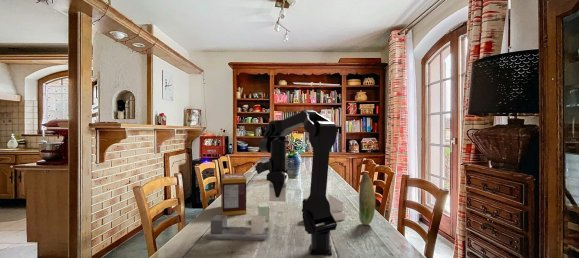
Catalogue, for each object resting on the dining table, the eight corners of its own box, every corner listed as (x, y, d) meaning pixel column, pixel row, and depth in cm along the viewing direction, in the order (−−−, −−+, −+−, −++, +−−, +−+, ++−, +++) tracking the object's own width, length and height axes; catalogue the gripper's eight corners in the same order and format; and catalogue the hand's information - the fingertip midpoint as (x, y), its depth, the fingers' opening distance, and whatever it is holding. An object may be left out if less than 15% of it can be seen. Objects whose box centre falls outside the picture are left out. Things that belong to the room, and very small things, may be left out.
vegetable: (375, 223, 115) (375, 172, 115) (375, 228, 109) (375, 175, 109) (359, 222, 117) (359, 172, 117) (358, 227, 111) (358, 174, 111)
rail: (265, 240, 97) (265, 222, 97) (206, 238, 98) (206, 221, 98) (268, 231, 105) (268, 215, 105) (214, 230, 106) (214, 214, 106)
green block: (269, 221, 117) (269, 206, 117) (259, 221, 117) (259, 207, 117) (267, 217, 122) (267, 203, 122) (258, 218, 121) (258, 203, 121)
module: (285, 201, 107) (285, 182, 107) (269, 201, 107) (269, 182, 107) (286, 198, 111) (286, 180, 111) (270, 198, 111) (270, 180, 111)
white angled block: (318, 213, 120) (328, 194, 121) (337, 223, 123) (347, 204, 124) (321, 215, 117) (332, 196, 118) (341, 226, 119) (351, 207, 120)
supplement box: (242, 205, 142) (243, 173, 142) (246, 214, 127) (246, 178, 127) (221, 206, 140) (221, 173, 140) (222, 215, 125) (222, 179, 125)
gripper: (261, 152, 119) (260, 190, 119) (251, 156, 100) (251, 201, 100) (288, 152, 118) (288, 190, 118) (284, 156, 99) (284, 202, 100)
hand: (278, 195), depth 109 cm, fingers closed on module, 4 cm apart
